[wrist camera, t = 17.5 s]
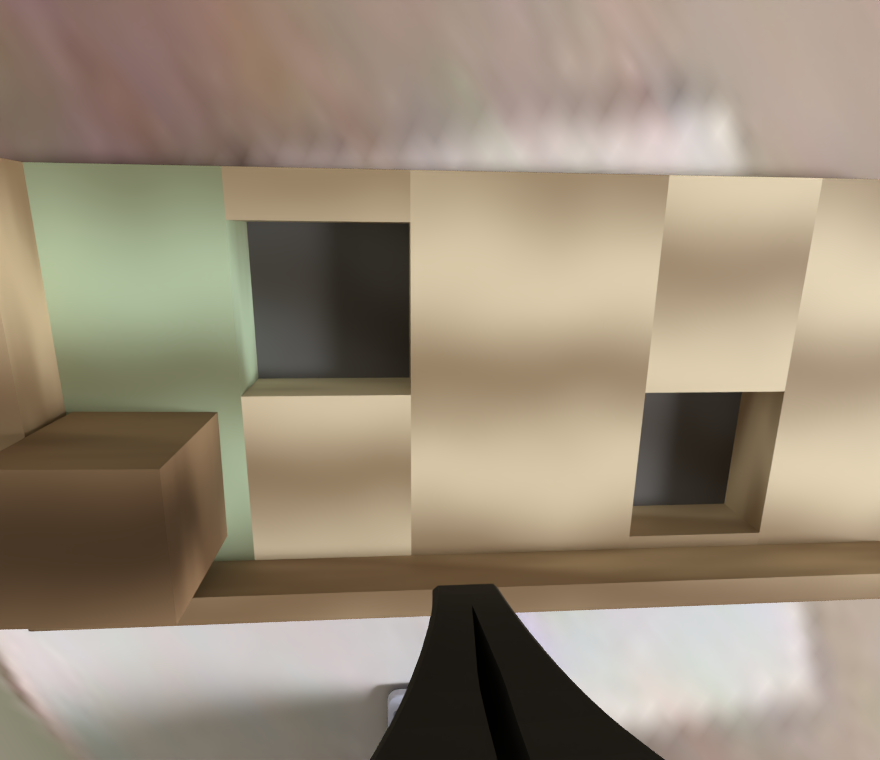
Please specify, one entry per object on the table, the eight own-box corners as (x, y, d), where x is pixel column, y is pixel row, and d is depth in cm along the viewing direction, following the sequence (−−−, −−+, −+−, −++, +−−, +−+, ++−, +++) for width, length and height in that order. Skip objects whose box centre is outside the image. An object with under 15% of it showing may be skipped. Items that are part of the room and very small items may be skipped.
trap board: (827, 530, 24) (923, 596, 19) (103, 551, 22) (28, 631, 17) (901, 187, 20) (1039, 174, 16) (40, 171, 18) (-74, 151, 14)
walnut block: (227, 535, 19) (176, 625, 15) (91, 537, 19) (-2, 629, 14) (217, 412, 18) (159, 469, 14) (72, 411, 18) (-36, 470, 13)
